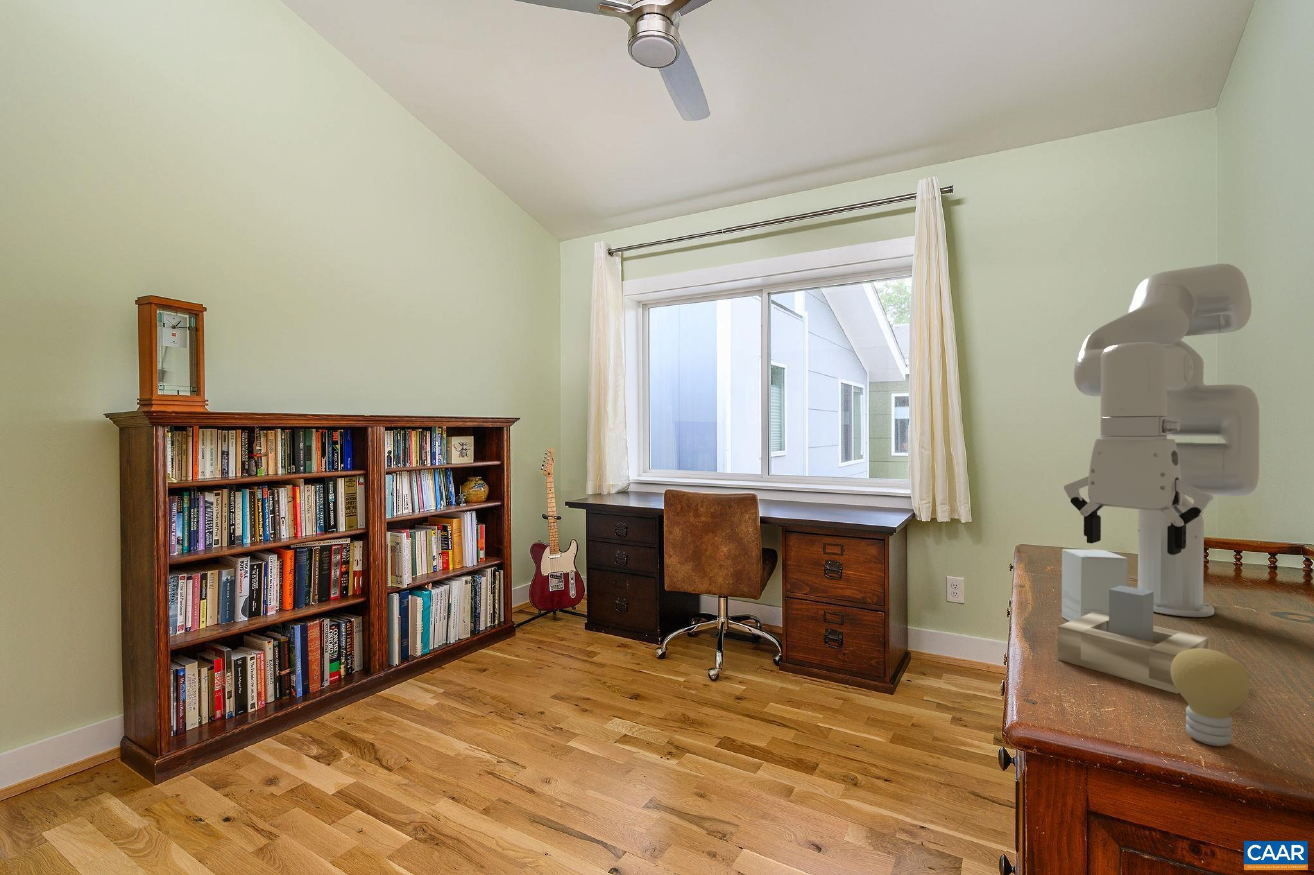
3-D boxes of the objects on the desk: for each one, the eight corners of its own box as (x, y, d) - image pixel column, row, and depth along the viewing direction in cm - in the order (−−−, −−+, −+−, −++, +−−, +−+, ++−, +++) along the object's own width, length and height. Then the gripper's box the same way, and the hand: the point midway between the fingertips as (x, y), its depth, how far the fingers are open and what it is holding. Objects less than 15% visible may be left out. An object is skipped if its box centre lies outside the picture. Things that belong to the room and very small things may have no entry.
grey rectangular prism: (1119, 652, 90) (1120, 585, 90) (1153, 660, 87) (1153, 591, 86) (1108, 657, 88) (1109, 589, 88) (1142, 666, 84) (1142, 595, 84)
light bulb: (1155, 727, 69) (1155, 641, 69) (1206, 725, 70) (1206, 639, 70) (1210, 757, 63) (1211, 662, 63) (1266, 754, 63) (1267, 660, 63)
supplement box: (1129, 632, 101) (1129, 558, 101) (1079, 630, 103) (1080, 556, 103) (1105, 619, 109) (1106, 549, 108) (1060, 616, 110) (1060, 547, 110)
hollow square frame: (1092, 643, 96) (1092, 612, 96) (1207, 672, 85) (1208, 637, 85) (1057, 659, 90) (1057, 626, 90) (1177, 693, 78) (1177, 655, 78)
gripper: (1221, 429, 82) (1219, 554, 82) (1076, 428, 96) (1076, 535, 97) (1202, 430, 77) (1201, 562, 78) (1054, 429, 92) (1054, 541, 92)
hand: (1132, 547), depth 87 cm, fingers open, 9 cm apart
